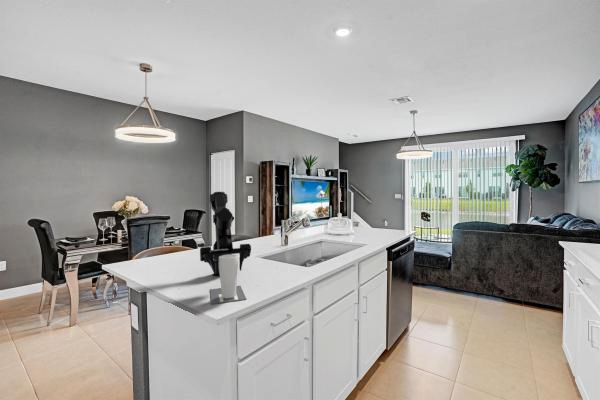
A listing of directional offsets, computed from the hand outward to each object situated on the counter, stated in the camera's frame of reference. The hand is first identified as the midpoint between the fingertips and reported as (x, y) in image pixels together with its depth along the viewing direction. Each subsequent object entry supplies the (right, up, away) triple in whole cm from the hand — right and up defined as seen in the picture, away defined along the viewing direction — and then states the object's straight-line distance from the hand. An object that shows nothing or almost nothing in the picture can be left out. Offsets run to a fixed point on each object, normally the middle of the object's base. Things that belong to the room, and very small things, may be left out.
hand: (227, 271), depth 107 cm
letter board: (-1, -10, +5) cm, 11 cm away
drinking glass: (0, -10, +2) cm, 10 cm away
